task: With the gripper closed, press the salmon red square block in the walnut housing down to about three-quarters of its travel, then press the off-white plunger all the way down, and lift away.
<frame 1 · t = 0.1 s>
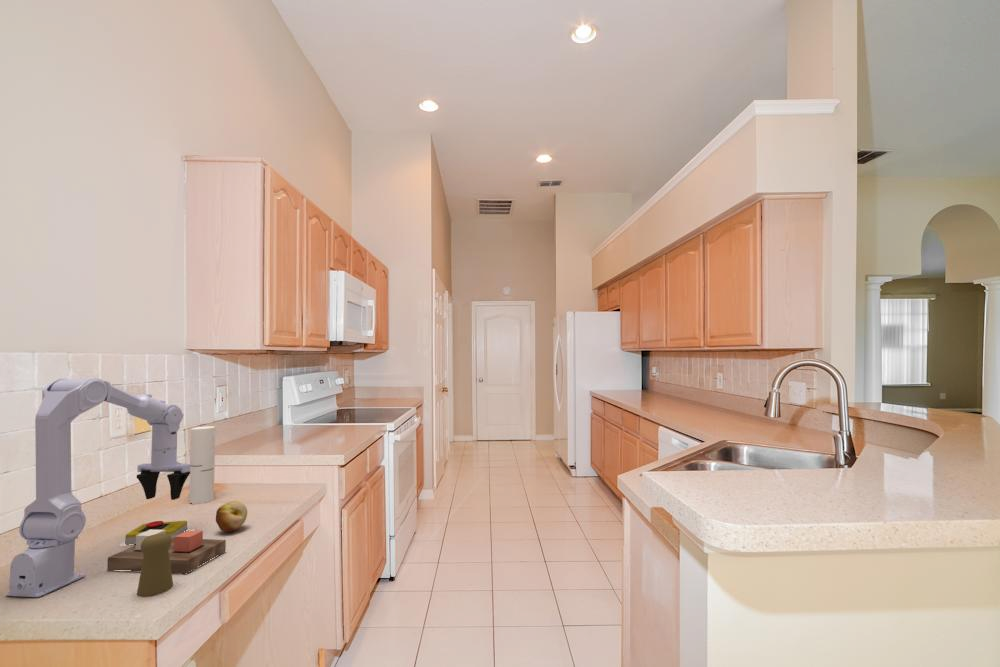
hand: (163, 498, 127), 10 cm above the worktop, tool pointing down, fingers open, 7 cm apart
off-white plunger: (150, 539, 111), point 5 cm above the worktop, slide at 0.0 cm
emergency button: (158, 540, 126), on the worktop
walnut plunger housing: (168, 561, 110), on the worktop
cylindrical container: (201, 501, 159), on the worktop
fruit: (231, 531, 129), on the worktop
salmon red square block: (188, 540, 109), point 5 cm above the worktop, slide at 0.0 cm
olive tall tapered piece: (155, 590, 96), on the worktop
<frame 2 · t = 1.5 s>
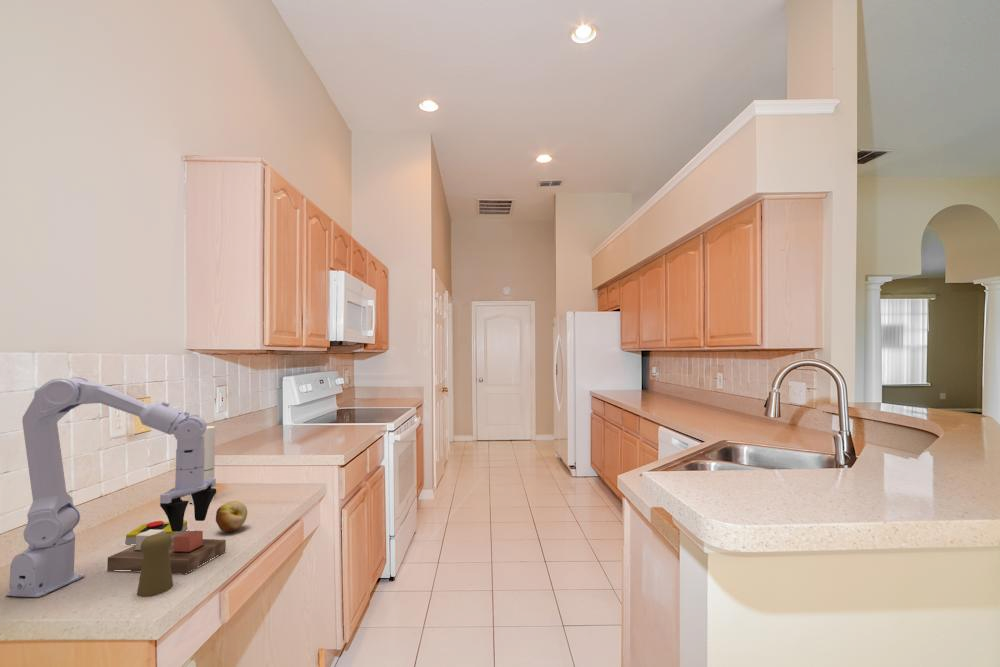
hand: (188, 525, 110), 8 cm above the worktop, tool pointing down, fingers open, 6 cm apart
nothing on the worktop moved.
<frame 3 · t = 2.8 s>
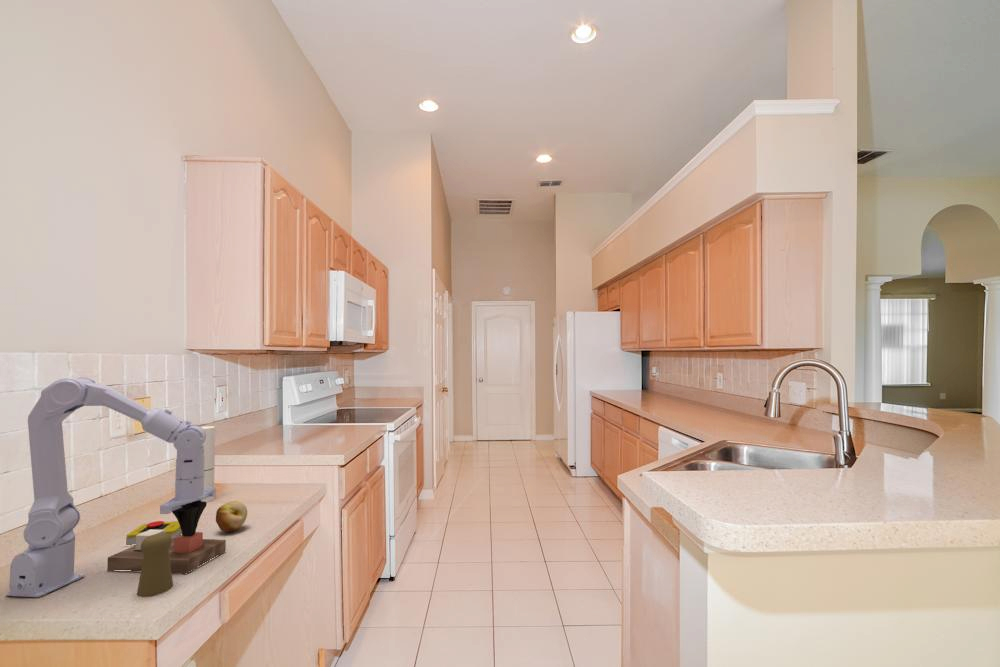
hand: (188, 535, 110), 6 cm above the worktop, tool pointing down, fingers closed, pressing on salmon red square block
salmon red square block: (188, 542, 109), point 4 cm above the worktop, slide at 0.4 cm, touching gripper
everything else where it was.
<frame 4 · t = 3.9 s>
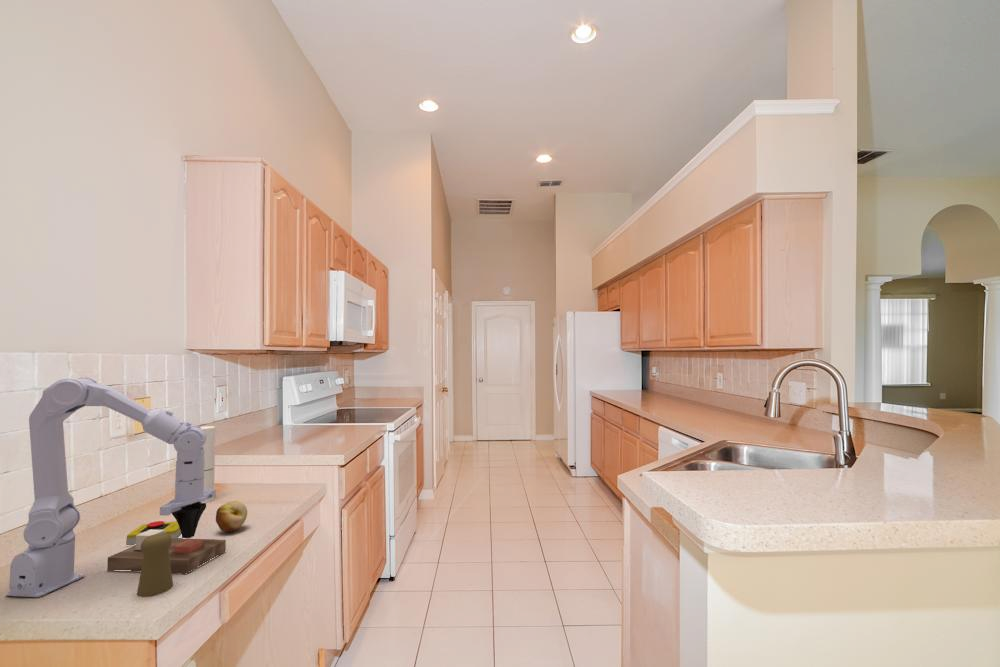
hand: (188, 537, 110), 6 cm above the worktop, tool pointing down, fingers closed
salmon red square block: (188, 550, 109), point 3 cm above the worktop, slide at 2.2 cm
everything else where it was.
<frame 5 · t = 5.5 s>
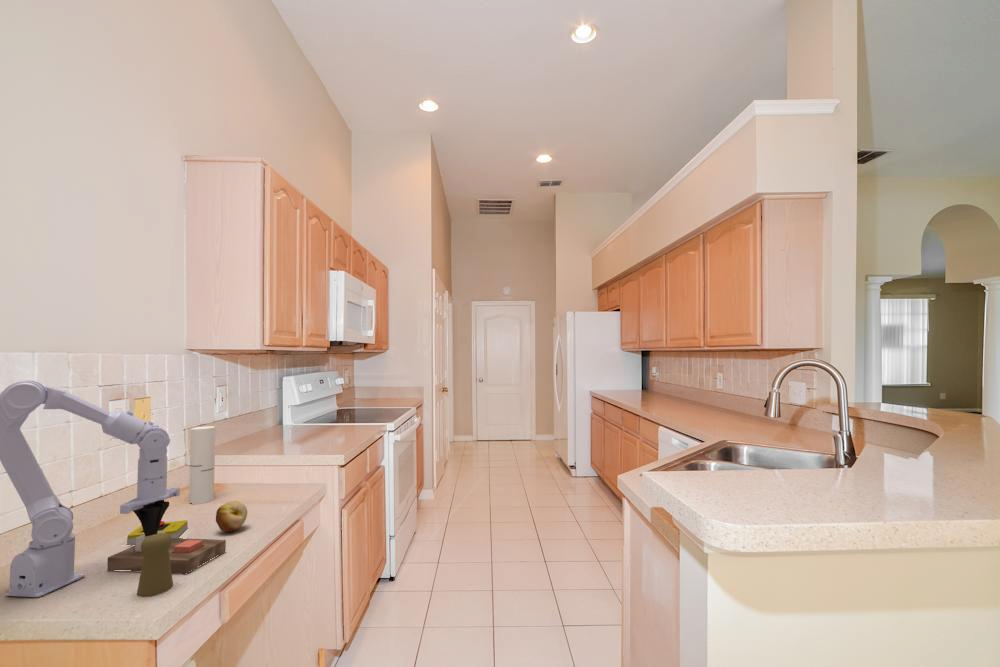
hand: (150, 534, 111), 6 cm above the worktop, tool pointing down, fingers closed, pressing on off-white plunger
off-white plunger: (150, 541, 111), point 4 cm above the worktop, slide at 0.5 cm, touching gripper
everything else where it was.
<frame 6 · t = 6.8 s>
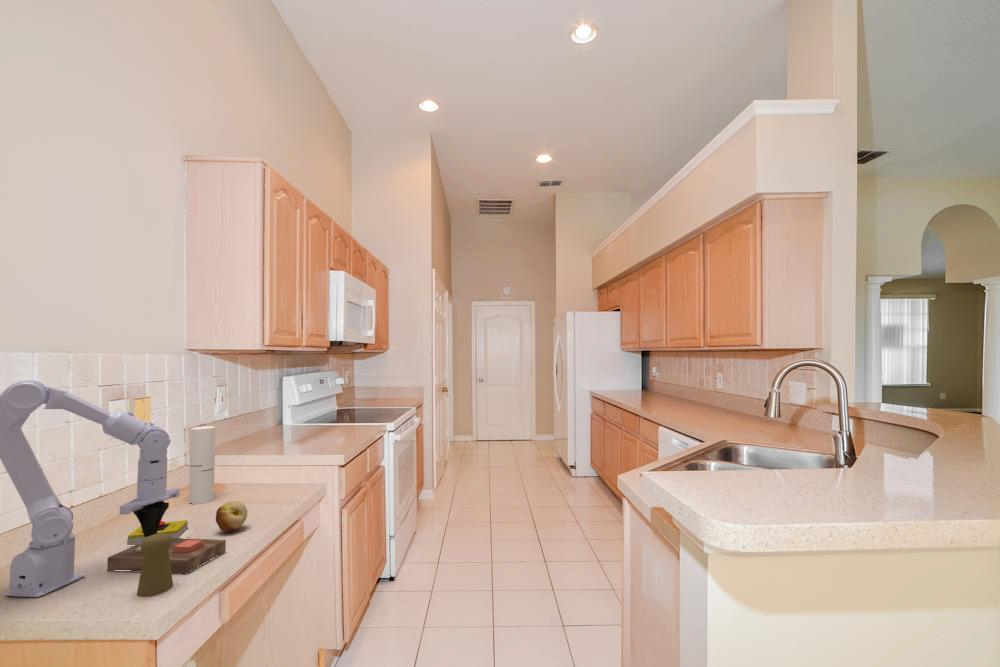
hand: (150, 535, 111), 6 cm above the worktop, tool pointing down, fingers closed
off-white plunger: (150, 552, 111), point 2 cm above the worktop, slide at 3.1 cm
everything else where it was.
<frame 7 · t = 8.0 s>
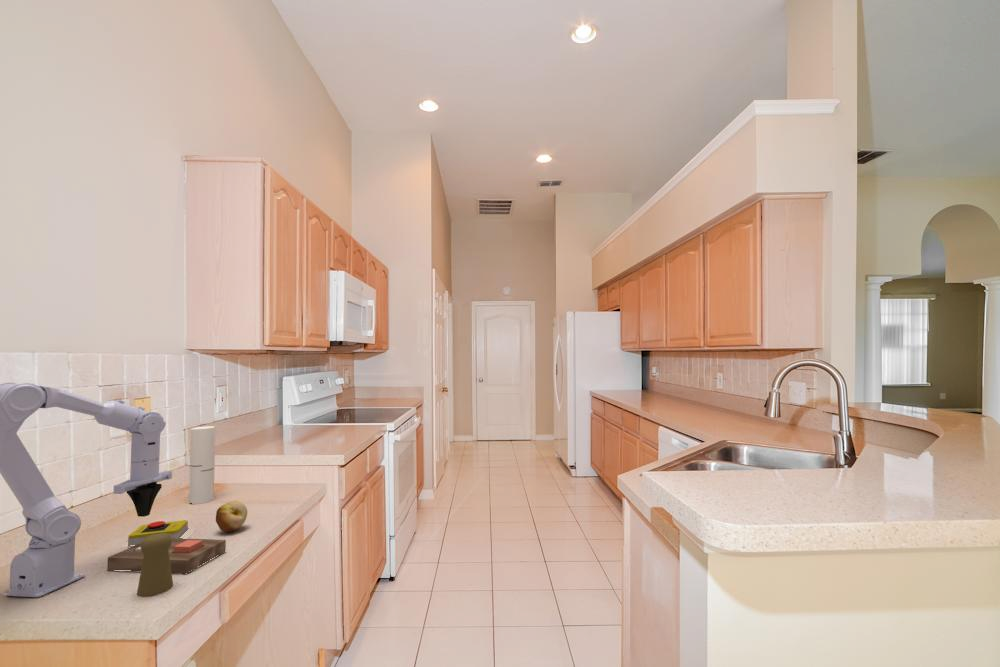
hand: (143, 515, 115), 9 cm above the worktop, tool pointing down, fingers closed
nothing on the worktop moved.
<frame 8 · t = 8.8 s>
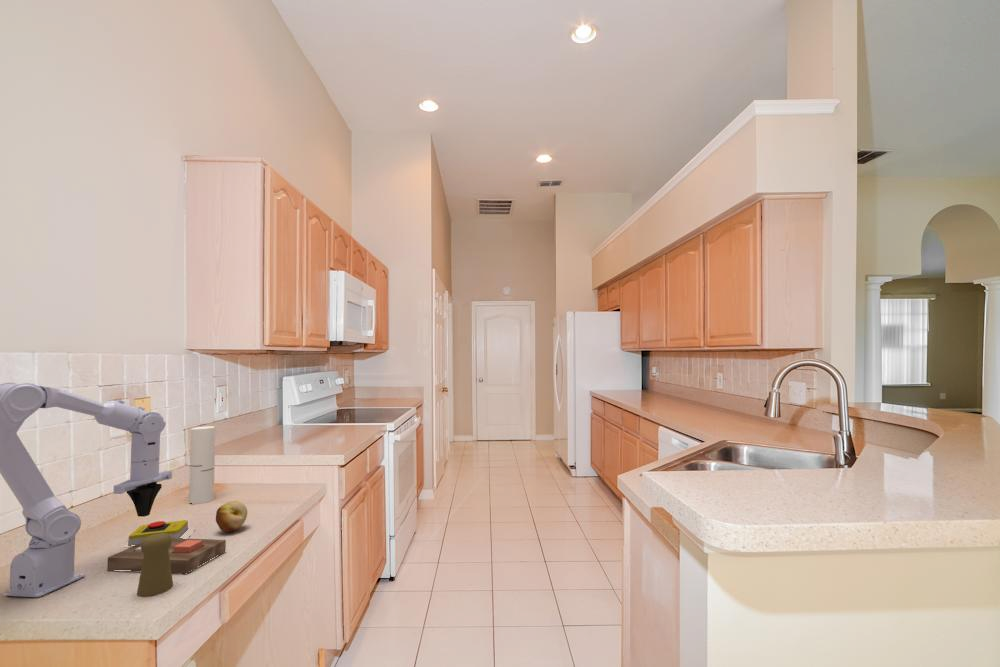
hand: (143, 515, 115), 9 cm above the worktop, tool pointing down, fingers closed
nothing on the worktop moved.
at the end: salmon red square block slide at 2.2 cm; off-white plunger slide at 3.1 cm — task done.
